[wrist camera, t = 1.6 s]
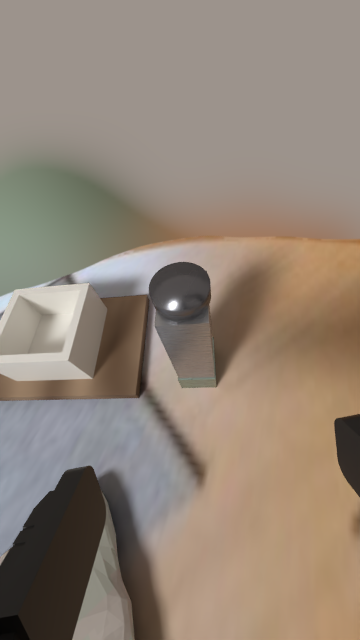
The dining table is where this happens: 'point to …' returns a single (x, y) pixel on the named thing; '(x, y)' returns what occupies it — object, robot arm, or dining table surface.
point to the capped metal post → (185, 322)
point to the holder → (51, 333)
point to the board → (99, 360)
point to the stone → (104, 594)
